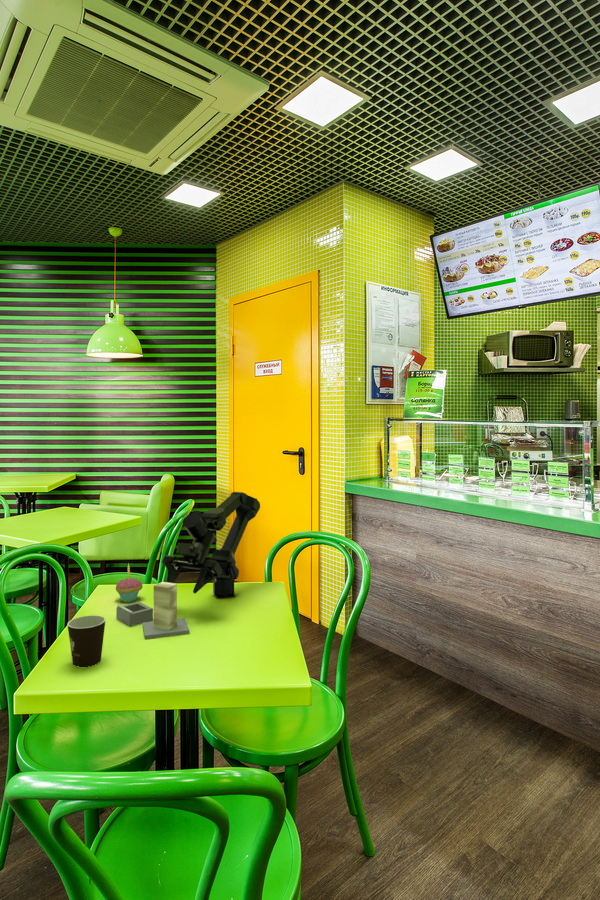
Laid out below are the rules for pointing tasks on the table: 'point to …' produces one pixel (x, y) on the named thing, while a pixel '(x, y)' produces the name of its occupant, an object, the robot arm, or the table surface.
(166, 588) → the cream square pillar
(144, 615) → the dispenser sleeve
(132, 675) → the table surface
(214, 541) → the robot arm
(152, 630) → the rubber mat
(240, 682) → the table surface
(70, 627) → the coffee mug
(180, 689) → the table surface
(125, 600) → the cupcake
